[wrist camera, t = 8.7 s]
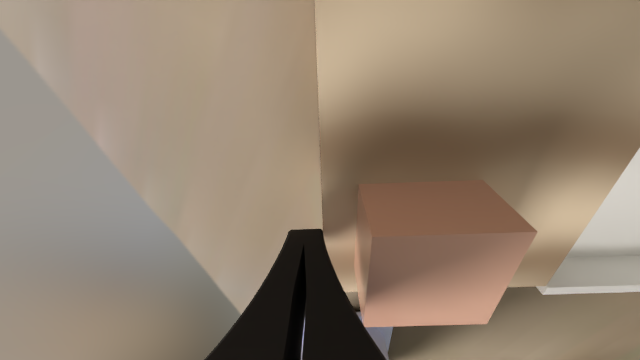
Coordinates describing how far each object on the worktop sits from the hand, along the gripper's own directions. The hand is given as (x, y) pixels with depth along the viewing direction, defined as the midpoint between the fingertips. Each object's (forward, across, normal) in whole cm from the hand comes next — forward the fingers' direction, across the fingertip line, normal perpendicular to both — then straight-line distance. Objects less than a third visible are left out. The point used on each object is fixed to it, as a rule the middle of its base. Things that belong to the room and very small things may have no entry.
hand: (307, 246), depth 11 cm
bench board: (+3, -7, -4) cm, 8 cm away
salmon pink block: (+1, -5, 0) cm, 5 cm away
